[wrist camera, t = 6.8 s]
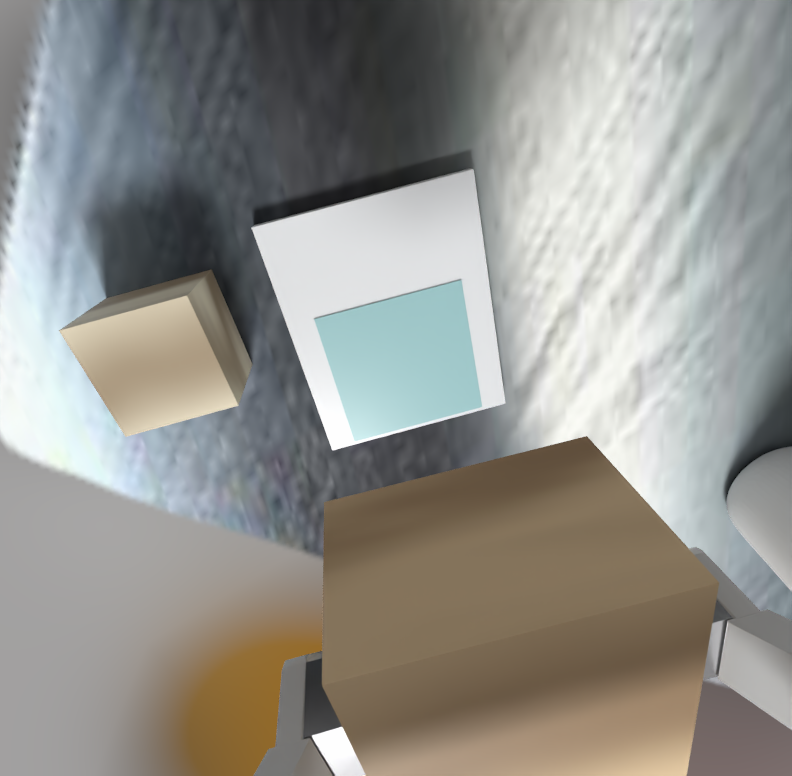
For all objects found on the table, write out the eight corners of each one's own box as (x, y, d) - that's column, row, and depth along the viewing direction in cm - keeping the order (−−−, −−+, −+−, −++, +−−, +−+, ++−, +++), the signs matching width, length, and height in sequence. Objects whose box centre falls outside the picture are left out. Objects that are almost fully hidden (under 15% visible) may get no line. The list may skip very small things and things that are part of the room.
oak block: (324, 502, 10) (322, 685, 7) (587, 436, 10) (719, 582, 7) (383, 663, 13) (403, 852, 10) (590, 609, 13) (686, 777, 10)
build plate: (253, 225, 19) (251, 227, 18) (469, 168, 19) (474, 169, 18) (332, 443, 24) (332, 451, 23) (501, 397, 24) (505, 403, 24)
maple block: (107, 297, 20) (58, 330, 16) (212, 268, 20) (187, 295, 16) (158, 389, 22) (125, 436, 18) (252, 363, 22) (238, 405, 18)
